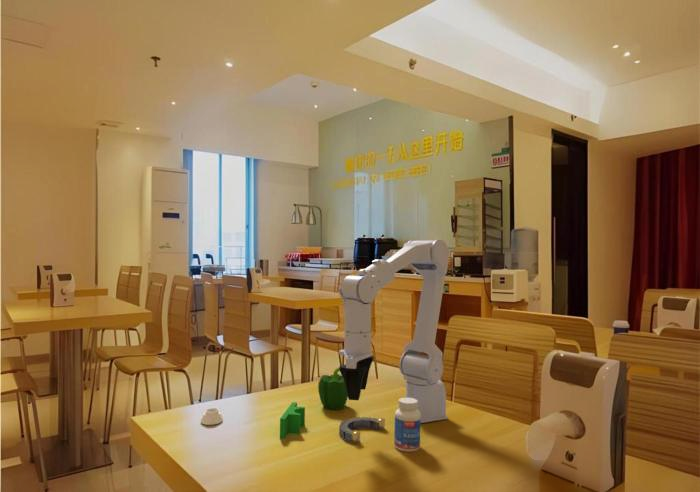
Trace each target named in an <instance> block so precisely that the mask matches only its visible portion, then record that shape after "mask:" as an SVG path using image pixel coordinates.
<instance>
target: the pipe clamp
mask: <svg viewBox="0 0 700 492" xmlns="http://www.w3.org/2000/svg"><path fill="white" fill-rule="evenodd" d="M305 416H306V407H305V406H298V402H295V401H293V402H291V403H290V405H289V406H288V408H287V409H286V410H285V411H284V413H283V414H282V415H281V417H280V418H279V439H286V438H287V436H288V434H289V435H290V434H291V435H292V434H293V435H300V434H301V428H302V427H303V428H304V427H305V426H306V425H305V422H306V419H305Z"/></svg>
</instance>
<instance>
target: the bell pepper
mask: <svg viewBox="0 0 700 492" xmlns="http://www.w3.org/2000/svg"><path fill="white" fill-rule="evenodd" d="M338 372H340V369H339V366H338V367H337V368H335V370H334V371H333V374H331V375H327V374H324V375H321V377H320V379H319V381H318V382H317V383H318V395H319V399H320V402H321V404H322V406H323V408H327V409H333V410H342V409H344V408H345V405H346V403H347V401H348V399H349V398H348V394H347V389H346V385H345V381H344V378H343V376H342V374H339V373H338Z"/></svg>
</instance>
